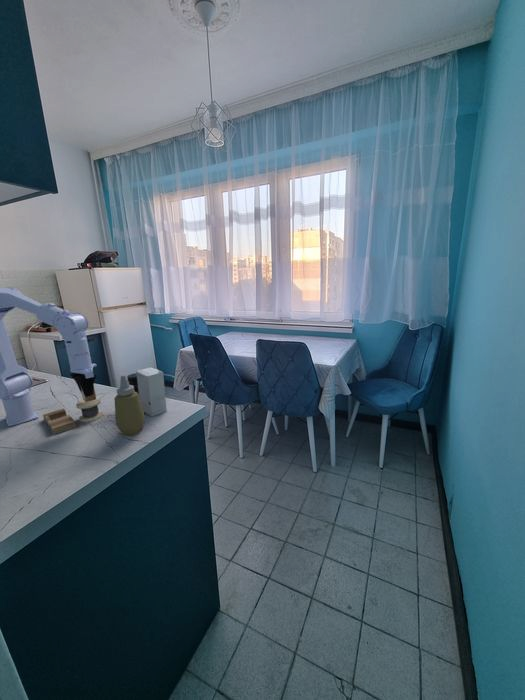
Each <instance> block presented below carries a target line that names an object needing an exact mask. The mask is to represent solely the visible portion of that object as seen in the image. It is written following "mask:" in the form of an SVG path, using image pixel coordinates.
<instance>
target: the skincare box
mask: <svg viewBox="0 0 525 700" xmlns="http://www.w3.org/2000/svg"><path fill="white" fill-rule="evenodd" d="M136 373H137V382H138V391H139V398H140V402H141V405H142V409H143V412H144V413H145V414H147V415H149V416H150V417H155V416H157V415H159V414H163V413H165V412H167V410H168V409H167V399H166V390H165V379H164V372H163V371H161V370H159V369H157V368H153V367H152V366H151V367H146V368H143V369H138V370H136Z"/></svg>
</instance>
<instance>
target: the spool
mask: <svg viewBox="0 0 525 700" xmlns="http://www.w3.org/2000/svg"><path fill="white" fill-rule="evenodd" d="M100 404H101V399H100V398H98V397H96V400H92V401H89V402H85V401H84V400H83V399H82V400H80V401H79V402H77V403H76V405H75V406H76V408H77V409H79V410H80V411H81V415H80V416H79V418H78V419H79V420H78V421H80V422H81V423H90V422H94V421H96V420H99V419H102V417H103V416H104V413H103V411H102V410H99V407H98V406H99V405H100Z"/></svg>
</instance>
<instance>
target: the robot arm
mask: <svg viewBox="0 0 525 700" xmlns="http://www.w3.org/2000/svg"><path fill="white" fill-rule="evenodd" d="M16 308H17V309H20V310H22V311H26V312H28V313H31V314H33V315H35V316H36V318H37V320H38V321H40V322H43V323H45V324H46V325H49V326H51V327H53V328H55V329H56V330H57V332H58V333H59V334H60V335H61V338H62V340H63V341H64V345H65V349H66V353H67V359H68V363H69V366H70V368H69V370H70V372H71V373H70V374H69V375H70V376H71V378H72V379H73V380H74V381H75V383H76V385H77V387H78V390H79V391H80V393H81V394H82V392H81V388H82V391H83V393H84V395H85V397H88V396H91V395H93V388H94V389H95V385H94V384H95V381H96V379H97V378H96V377H97V373H95V372H94V370H93V369H94V368H96V367H97V364H96V363H92V357H91V353H90V349H89V343H88V338H87V333H86V331H87V329H88V328H89V321H88V318H87V317H86V316H85V315H84V314H82V313H81V312H75V313H73V312H72V313H71V312H70V310H68V309H63V308H61V307H58V306H57V305H56V303H53V302H49V303H48V302H47V303H43V304H42V303H40V302H38V301H36V300H34V299H32V298H30V297H28V296H26V295H24V294H23V293H22V292H21V291H20V290H18V289H15V288H13V287H11V286H7V287H0V400H1V403H2V405H3V408H4V412H5V415H6V416H5V417H4V419H5V421H6V424H7V426H8V427H12V426H13V427H14V426H17V425H19V424H23V423H26V422H29V421H32V420H36V419H38V418H39V415H38V414H37V412H36V410H35V409H34V405H33V401H32V398H31V395H30V392H31V391H32V389H31V388H33V386H34V380H33V377H32V376H31V375H30V373H29V372H28V368H26V367H24V366H22V365H20V364H19V365H18V362H17V358H16V355H15V353H14V349H13V346H12V343H11V340H10V338H9V337H10V336H9V334H8V332H7V331H8V330H7V328H6V325H5V321H4V317H5V316H6V315H7V314H8V313H9V312H11V311H12V310H14V309H16ZM80 386H81V387H80Z"/></svg>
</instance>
